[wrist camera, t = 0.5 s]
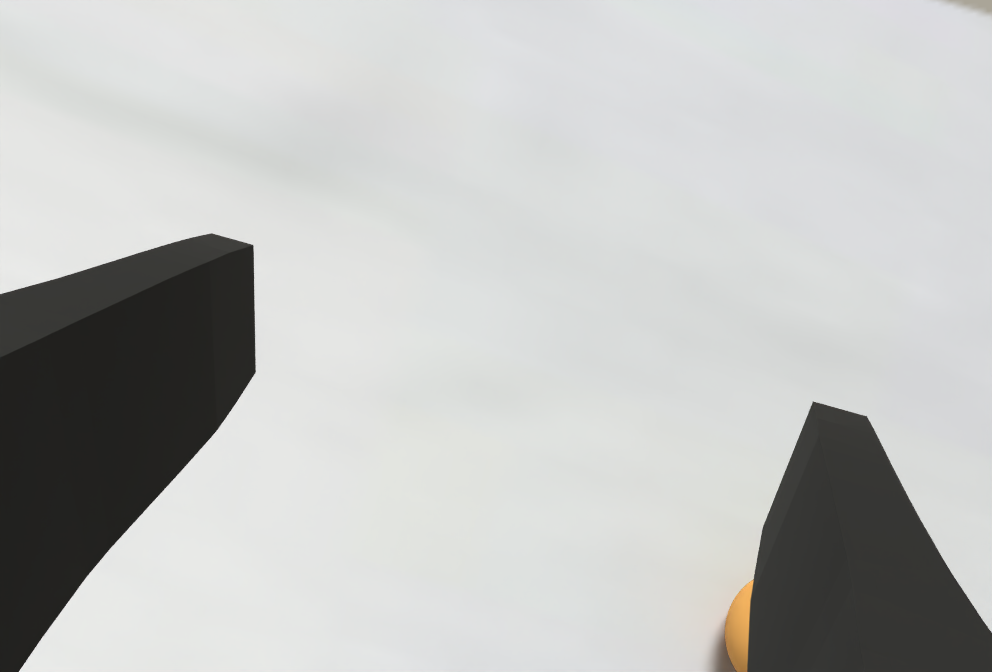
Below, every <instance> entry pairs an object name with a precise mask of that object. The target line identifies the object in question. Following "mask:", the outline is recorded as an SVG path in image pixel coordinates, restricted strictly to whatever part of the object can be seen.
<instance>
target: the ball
mask: <svg viewBox="0 0 992 672" xmlns="http://www.w3.org/2000/svg"><path fill="white" fill-rule="evenodd" d="M753 581H754V579H753V580H752V581H751V582H749V583H748V584H747V585H746V586H745V587H743V588H742V589H741V591H740V592H739V593H738V594H737V596H736V597H735V599H734V600H733V602H732V604H731V606H730V609H729V611H728V615H727V618H726V624H725V640H726V646H727V651H728V655H729V657H730V660H731V663H732V664H733V666H734V668H735V670H736V672H747V663H748V639H749V617H750V600H751V594H752V588H753Z"/></svg>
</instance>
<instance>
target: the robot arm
mask: <svg viewBox="0 0 992 672" xmlns="http://www.w3.org/2000/svg"><path fill="white" fill-rule="evenodd" d="M255 372H256V370H255V311H254V252H253V245H251V244H247V243H244V242H240V241H237V240H233V239H229V238H226V237H222V236H219V235H215V234H207V235H202V236H197V237H193V238H189V239H185V240H181V241H178V242H174V243H171V244H167V245H164V246H161V247H157V248H154V249H151V250H148V251H144V252H141V253H138V254H135V255H132V256H128V257H125V258H122V259H119V260H116V261H112V262H109V263H106V264H103V265H100V266H96V267H93V268H90V269H87V270H84V271H80V272H77V273H74V274H71V275H67V276H64V277H61V278H58V279H54V280H50V281H47V282H43V283H40V284H36V285H32V286H29V287H25V288H21V289H18V290H14V291H11V292H7V293H3V294H0V672H19V670H20V669H21V668H22V666H23V665H24V663H25V662H26V660H27V659H28V657H29V656H30V654H31V653H32V652H33V650H34V649H35V647H36V646H37V644H38V643H39V641H40V640H41V638H42V637H43V636H44V634H45V633H46V632H47V630H48V629H49V627H50V626H51V625H52V623H53V622H54V621H55V619H56V618H57V616H58V615H59V614H60V612H61V611H62V610H63V608H64V607H65V606H66V604H67V603H68V601H69V600H70V599H71V597H72V596H73V595H74V593H75V592H76V590H77V589H78V588H79V586H80V585H81V584H82V582H83V581H84V580H85V578H86V577H87V576H88V574H89V573H90V572H91V571H92V570H93V568H94V567H95V566H96V565H97V564H98V562H99V561H100V560H101V559H102V558H103V556H104V555H105V554H106V553H107V552H108V550H109V549H110V548H111V547H112V546H113V545H114V544H115V543H116V542H117V540H118V539H119V538H120V537H121V536H122V535H123V534H124V533H125V532H126V531H127V530H128V528H129V527H130V526H131V525H132V524H133V523H134V522H135V521H136V520H137V519H138V517H139V516H140V515H141V514H142V513H143V512H144V511H145V510H146V509H147V508H148V507H149V505H150V504H151V503H152V502H153V501H154V500H155V499H156V498H157V497H158V496H159V494H160V493H161V492H162V491H163V490H164V489H165V488H166V487H167V486H168V485H169V484H170V482H171V481H172V480H173V479H174V478H175V477H176V476H177V475H178V474H179V473H180V471H181V470H182V469H183V468H184V467H185V466H186V465H187V464H188V463H189V461H190V460H191V459H192V458H193V457H194V456H195V455H196V454H197V452H198V451H199V450H200V449H201V448H202V447H203V446H204V445H205V443H206V442H207V441H208V440H209V439H210V438H211V437H212V435H213V434H214V433H215V432H216V431H217V430H218V428H219V427H220V425H221V424H222V422H223V421H224V420H225V418H226V417H227V415H228V414H229V412H230V411H231V409H232V408H233V407H234V405H235V404H236V402H237V401H238V399H239V397H240V396H241V394H242V393H243V391H244V390H245V388H246V386H247V385H248V383H249V382H250V380H251V379H252V377H253V376H254V374H255ZM747 672H992V633H991V631H990V630H989V629H988V627H987V626H986V624H985V623H984V621H983V620H982V619H981V617H980V616H979V614H978V613H977V611H976V609H975V608H974V606H973V605H972V603H971V602H970V600H969V599H968V597H967V596H966V594H965V593H964V591H963V590H962V588H961V587H960V585H959V584H958V582H957V581H956V579H955V578H954V576H953V575H952V573H951V571H950V570H949V568H948V567H947V565H946V563H945V562H944V560H943V558H942V556H941V555H940V553H939V551H938V549H937V548H936V546H935V544H934V543H933V541H932V539H931V537H930V536H929V534H928V532H927V530H926V529H925V527H924V525H923V523H922V522H921V520H920V518H919V516H918V514H917V513H916V511H915V509H914V507H913V505H912V503H911V501H910V500H909V498H908V496H907V494H906V492H905V490H904V488H903V486H902V484H901V482H900V480H899V478H898V476H897V475H896V473H895V471H894V469H893V467H892V465H891V463H890V461H889V459H888V457H887V455H886V453H885V451H884V449H883V447H882V445H881V443H880V441H879V439H878V437H877V435H876V433H875V431H874V429H873V427H872V425H871V423H870V421H869V420H868V418H867V416H863V415H859V414H856V413H852V412H849V411H845V410H841V409H838V408H834V407H831V406H827V405H824V404H820V403H816V402H813V403H812V406H811V408H810V411H809V413H808V416H807V418H806V421H805V423H804V426H803V428H802V431H801V433H800V436H799V438H798V441H797V443H796V446H795V448H794V451H793V453H792V456H791V458H790V461H789V463H788V466H787V468H786V471H785V473H784V476H783V478H782V481H781V483H780V486H779V488H778V491H777V493H776V496H775V499H774V501H773V504H772V506H771V509H770V511H769V514H768V516H767V519H766V521H765V524H764V526H763V530H762V535H761V541H760V547H759V552H758V558H757V563H756V569H755V575H754V581H753V588H752V594H751V600H750V617H749V639H748V663H747Z"/></svg>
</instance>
